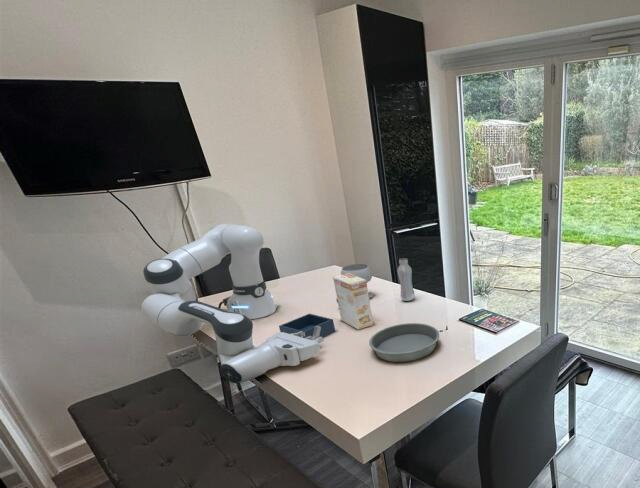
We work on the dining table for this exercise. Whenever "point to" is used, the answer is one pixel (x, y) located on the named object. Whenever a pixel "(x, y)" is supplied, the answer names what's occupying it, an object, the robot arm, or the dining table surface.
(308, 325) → the basket
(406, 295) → the plastic bottle
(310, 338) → the lighter
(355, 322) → the coffeecake box
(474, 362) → the dining table surface
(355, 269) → the chalice
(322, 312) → the dining table surface
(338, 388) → the dining table surface
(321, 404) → the dining table surface
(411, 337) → the cake pan
